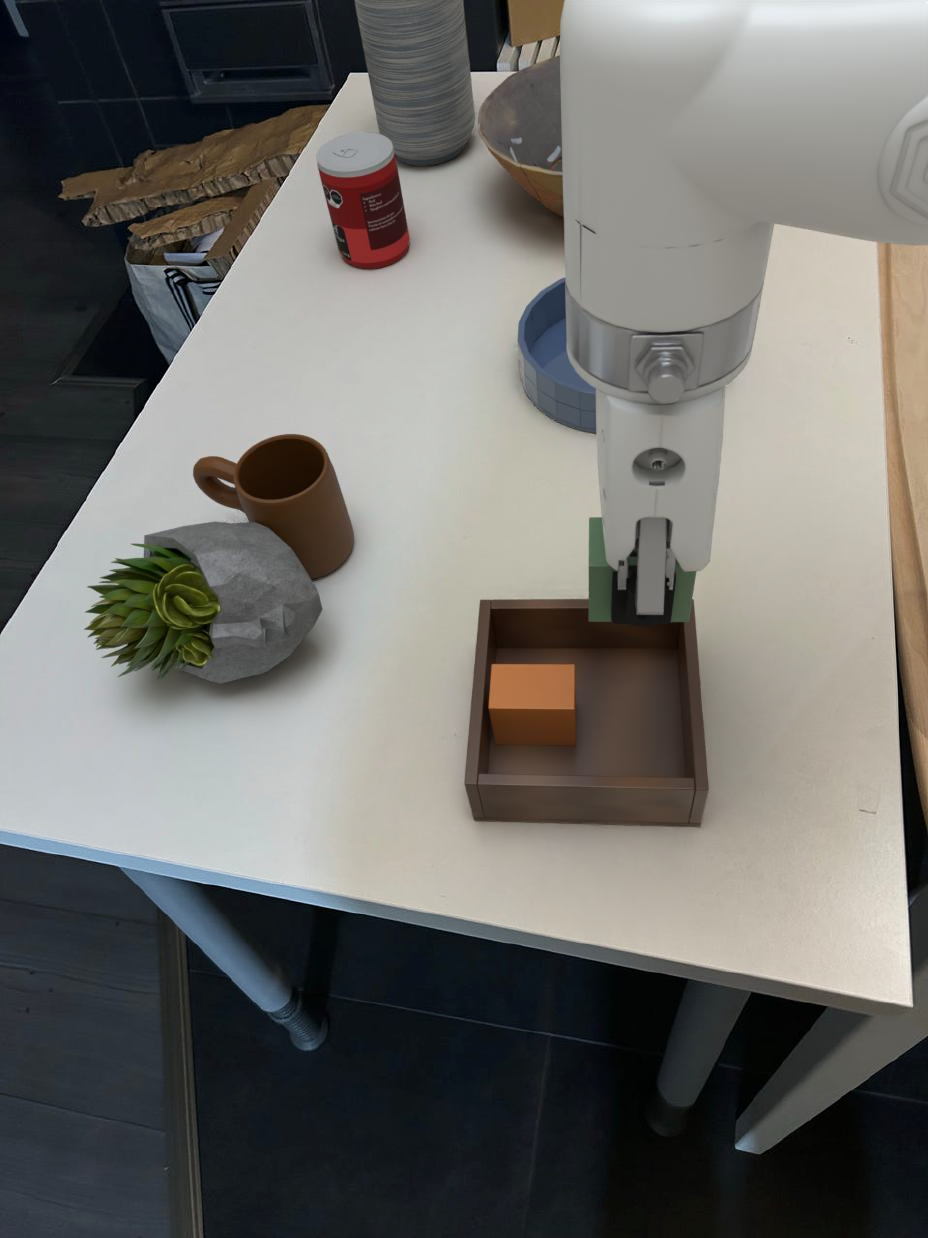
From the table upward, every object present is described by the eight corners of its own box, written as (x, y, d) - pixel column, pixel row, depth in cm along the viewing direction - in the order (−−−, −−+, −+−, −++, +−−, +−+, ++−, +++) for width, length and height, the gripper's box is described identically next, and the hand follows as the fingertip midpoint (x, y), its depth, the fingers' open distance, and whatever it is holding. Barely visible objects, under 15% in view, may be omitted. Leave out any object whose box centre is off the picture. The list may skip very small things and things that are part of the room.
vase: (433, 113, 117) (403, -106, 98) (497, 140, 111) (477, -88, 93) (364, 153, 113) (319, -67, 95) (426, 183, 107) (391, -45, 89)
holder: (687, 644, 67) (693, 598, 62) (700, 827, 59) (709, 790, 54) (487, 643, 69) (479, 599, 64) (473, 821, 61) (464, 784, 56)
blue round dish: (712, 300, 89) (717, 259, 85) (728, 431, 79) (735, 390, 75) (525, 309, 92) (522, 269, 88) (516, 438, 81) (513, 398, 78)
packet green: (685, 574, 53) (693, 515, 49) (688, 622, 51) (697, 565, 47) (589, 574, 54) (589, 516, 50) (588, 622, 52) (588, 566, 48)
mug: (205, 567, 76) (162, 489, 69) (242, 501, 81) (205, 420, 73) (337, 590, 73) (307, 511, 66) (369, 520, 77) (344, 437, 70)
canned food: (347, 230, 104) (324, 132, 95) (416, 228, 102) (399, 128, 93) (332, 271, 99) (307, 172, 90) (404, 270, 98) (385, 169, 89)
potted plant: (346, 649, 65) (139, 744, 59) (297, 636, 76) (120, 715, 71) (282, 486, 62) (58, 569, 56) (241, 498, 74) (52, 568, 68)
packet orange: (576, 702, 64) (574, 664, 60) (575, 746, 62) (574, 709, 58) (498, 701, 65) (491, 663, 61) (495, 744, 63) (488, 708, 59)
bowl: (583, 116, 112) (582, 26, 104) (758, 175, 101) (772, 79, 93) (438, 214, 103) (425, 124, 95) (611, 290, 92) (613, 195, 84)
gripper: (780, 459, 32) (719, 720, 46) (738, 193, 41) (698, 481, 56) (561, 463, 33) (569, 717, 47) (569, 203, 42) (574, 483, 57)
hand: (639, 588), depth 51 cm, fingers closed on packet green, 3 cm apart
